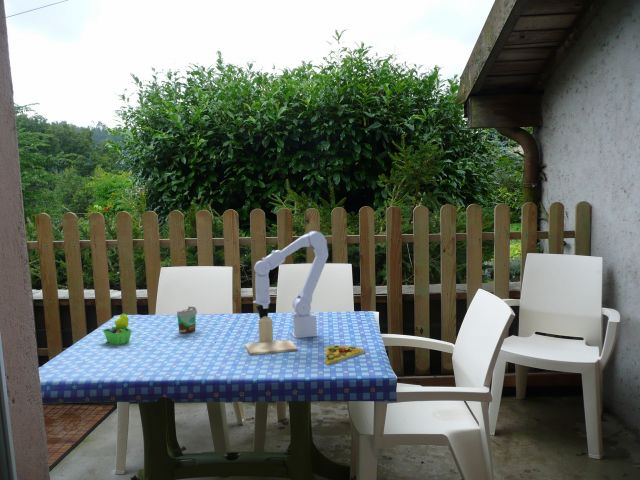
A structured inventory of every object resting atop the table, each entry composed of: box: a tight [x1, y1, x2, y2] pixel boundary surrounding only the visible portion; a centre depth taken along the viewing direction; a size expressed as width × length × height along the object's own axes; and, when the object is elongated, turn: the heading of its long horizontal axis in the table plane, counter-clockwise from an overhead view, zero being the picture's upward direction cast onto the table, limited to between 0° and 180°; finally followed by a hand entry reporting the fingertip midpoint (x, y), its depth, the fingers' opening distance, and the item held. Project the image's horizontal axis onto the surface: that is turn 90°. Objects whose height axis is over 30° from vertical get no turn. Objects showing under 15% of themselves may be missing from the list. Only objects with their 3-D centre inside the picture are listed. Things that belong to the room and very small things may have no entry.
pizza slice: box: [325, 345, 366, 366], centre depth 202 cm, size 16×21×3 cm
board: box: [244, 339, 298, 356], centre depth 216 cm, size 18×14×1 cm
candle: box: [258, 316, 274, 343], centre depth 227 cm, size 6×6×10 cm
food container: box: [176, 305, 198, 335], centre depth 248 cm, size 12×6×10 cm, turn 168°
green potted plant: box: [102, 313, 133, 346], centre depth 232 cm, size 11×9×11 cm
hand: (263, 322), depth 232 cm, fingers closed
